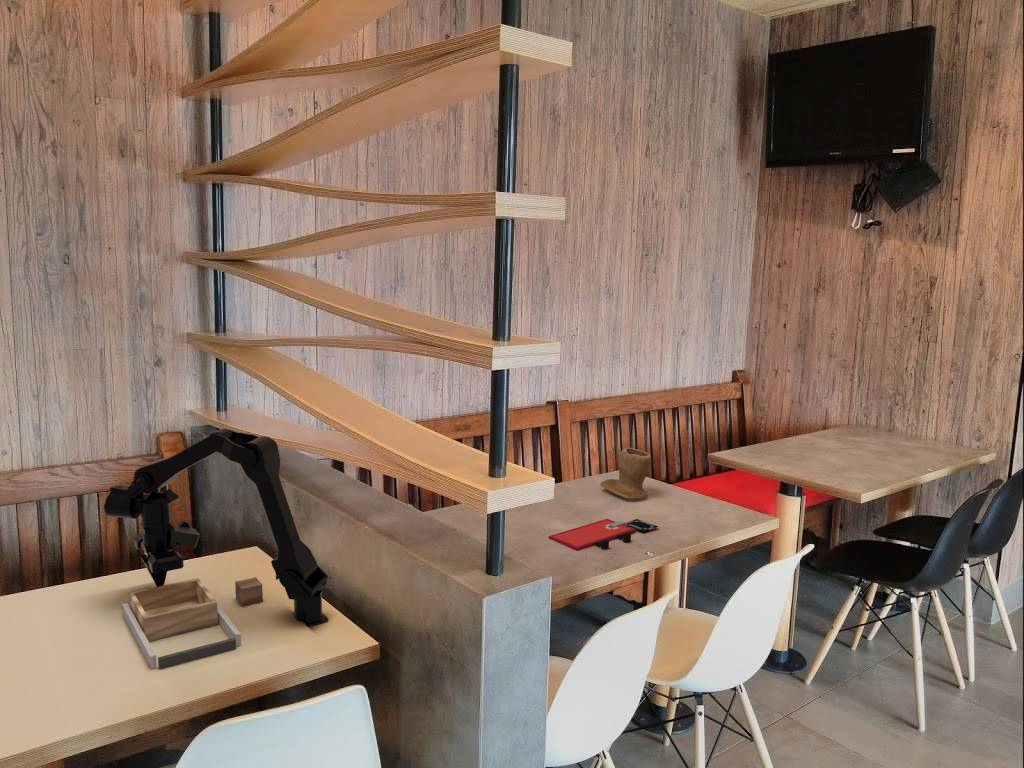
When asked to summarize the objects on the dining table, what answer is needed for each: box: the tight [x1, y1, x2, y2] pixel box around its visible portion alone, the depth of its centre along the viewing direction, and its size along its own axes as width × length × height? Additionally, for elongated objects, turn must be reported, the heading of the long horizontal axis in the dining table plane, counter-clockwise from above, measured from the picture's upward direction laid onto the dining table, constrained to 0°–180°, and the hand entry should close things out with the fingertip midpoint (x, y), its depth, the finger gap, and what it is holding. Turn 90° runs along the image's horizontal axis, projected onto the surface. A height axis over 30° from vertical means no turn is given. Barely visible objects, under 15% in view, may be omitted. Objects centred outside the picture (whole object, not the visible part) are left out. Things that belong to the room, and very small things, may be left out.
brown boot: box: [599, 447, 652, 500], centre depth 264 cm, size 15×12×15 cm
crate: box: [128, 577, 219, 643], centre depth 173 cm, size 14×14×5 cm
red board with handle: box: [547, 518, 659, 552], centre depth 230 cm, size 30×3×15 cm
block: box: [234, 576, 264, 607], centre depth 183 cm, size 4×4×5 cm
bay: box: [121, 602, 242, 670], centre depth 169 cm, size 28×18×3 cm, turn 35°
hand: (160, 588), depth 182 cm, fingers closed
